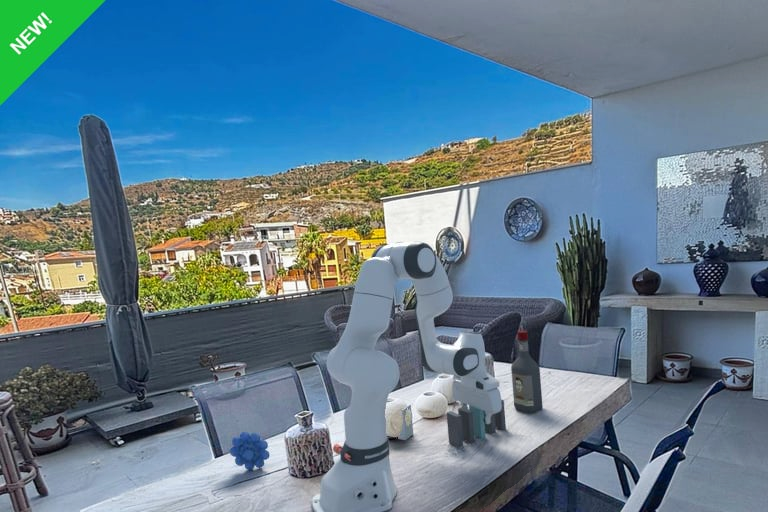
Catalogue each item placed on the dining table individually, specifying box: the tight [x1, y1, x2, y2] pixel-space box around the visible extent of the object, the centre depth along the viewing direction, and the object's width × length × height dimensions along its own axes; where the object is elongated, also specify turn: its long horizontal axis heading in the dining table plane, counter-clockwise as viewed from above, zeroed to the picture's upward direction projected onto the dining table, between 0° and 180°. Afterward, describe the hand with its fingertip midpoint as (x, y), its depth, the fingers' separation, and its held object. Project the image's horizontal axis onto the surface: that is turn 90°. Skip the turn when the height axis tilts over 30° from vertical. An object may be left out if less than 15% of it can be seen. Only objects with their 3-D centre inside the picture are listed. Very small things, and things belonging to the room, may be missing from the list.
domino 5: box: [495, 398, 507, 431], centre depth 144 cm, size 2×5×10 cm, turn 32°
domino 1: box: [446, 410, 464, 449], centre depth 133 cm, size 2×5×10 cm, turn 32°
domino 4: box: [484, 411, 497, 435], centre depth 141 cm, size 2×5×10 cm, turn 32°
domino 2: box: [457, 406, 476, 444], centre depth 136 cm, size 2×5×10 cm, turn 33°
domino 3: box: [468, 405, 486, 439], centre depth 139 cm, size 2×5×10 cm, turn 32°
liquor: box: [510, 330, 544, 414], centre depth 159 cm, size 9×9×30 cm
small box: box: [398, 403, 414, 441], centre depth 143 cm, size 8×6×10 cm
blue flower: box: [229, 431, 270, 471], centre depth 126 cm, size 12×7×12 cm, turn 100°
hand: (476, 419), depth 139 cm, fingers open, 8 cm apart
